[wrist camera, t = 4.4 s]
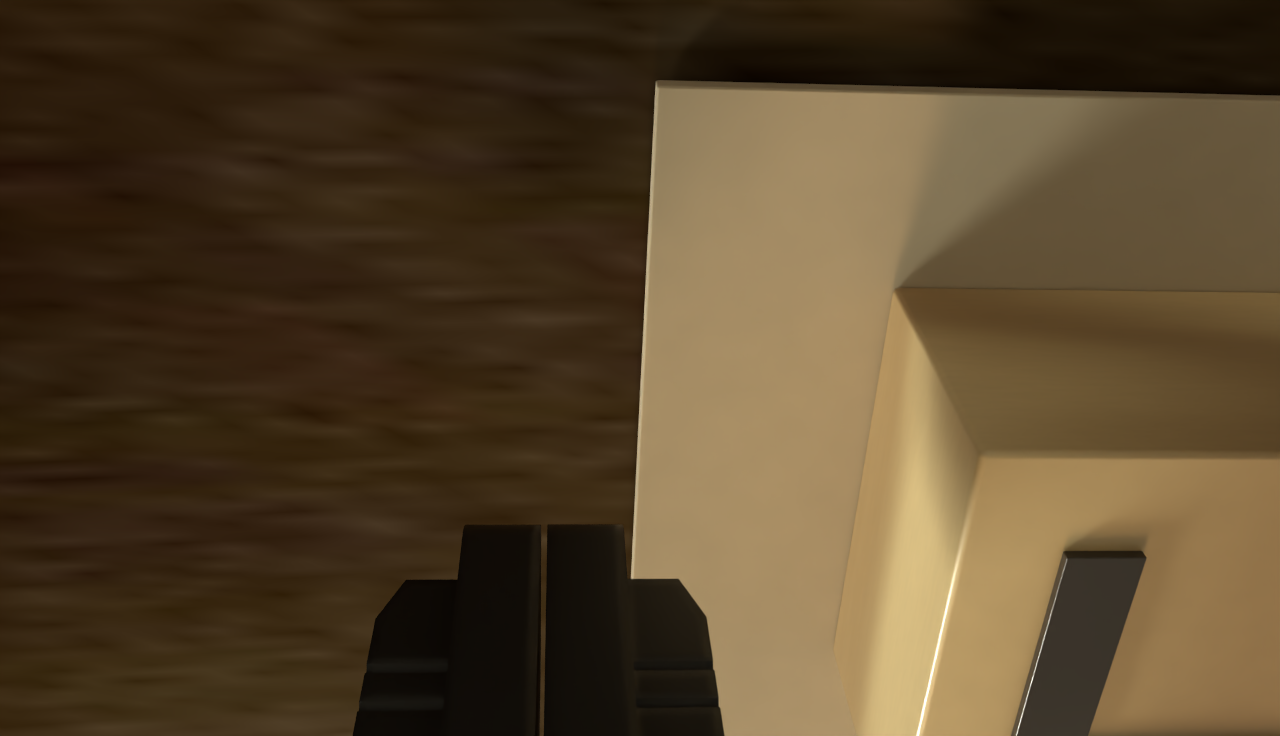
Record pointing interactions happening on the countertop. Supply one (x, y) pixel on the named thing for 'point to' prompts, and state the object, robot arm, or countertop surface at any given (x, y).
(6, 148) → the countertop surface
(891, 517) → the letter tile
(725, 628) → the runner
